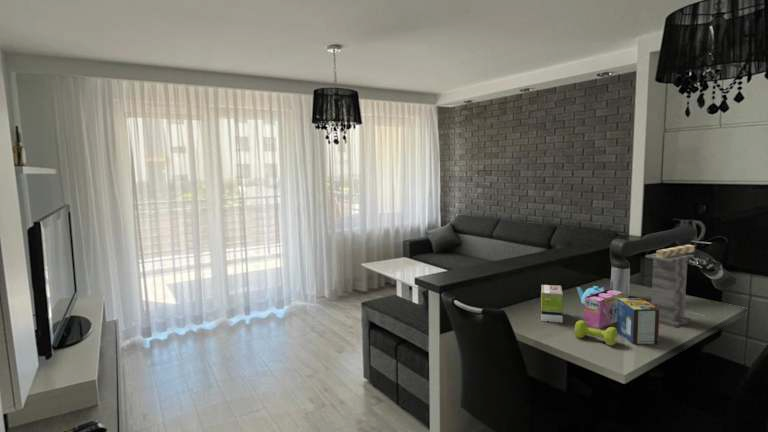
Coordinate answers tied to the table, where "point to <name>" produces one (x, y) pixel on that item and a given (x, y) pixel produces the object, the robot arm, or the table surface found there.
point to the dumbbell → (596, 332)
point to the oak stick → (675, 251)
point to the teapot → (588, 292)
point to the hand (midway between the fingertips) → (697, 257)
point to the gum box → (602, 308)
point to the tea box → (551, 303)
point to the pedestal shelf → (670, 288)
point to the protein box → (638, 321)
